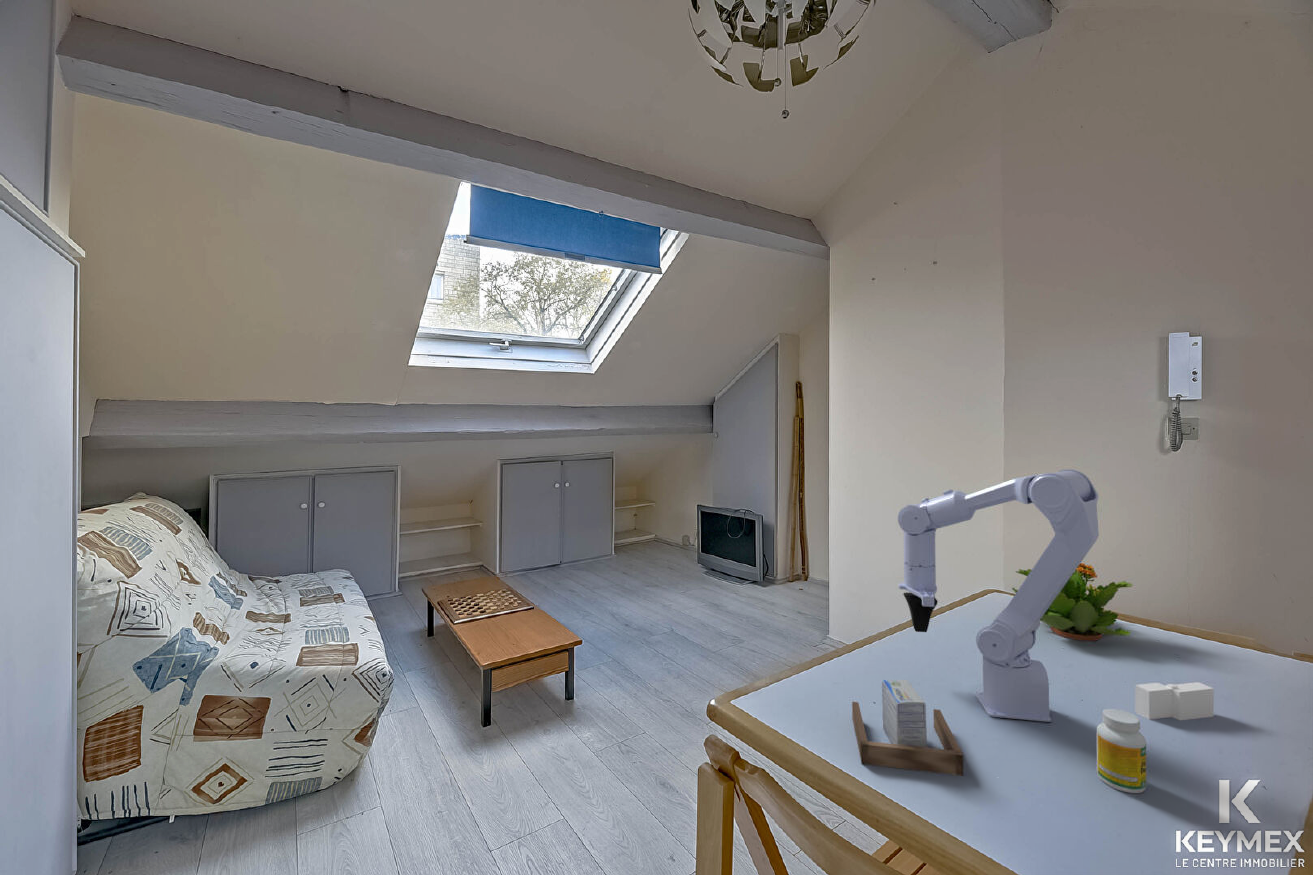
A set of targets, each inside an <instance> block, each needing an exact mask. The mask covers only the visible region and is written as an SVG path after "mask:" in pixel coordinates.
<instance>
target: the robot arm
mask: <svg viewBox="0 0 1313 875" xmlns="http://www.w3.org/2000/svg"><path fill="white" fill-rule="evenodd" d="M942 493H943V494H942V495H939V496H936V497H934V498H931V499H929V497H925V498H923V499H921V500H920V501H921V503H915V504H907V505H906V506H904V507H903V508H902V509H900V510H899V512H898V514H897V522H898V525H899V528H900V529H901V530H902V531H903V567H904V568H903V570H904V571H903V573H904V574H903V577H904V578H903V579H904V582H900V583H899V582H898V583H897V587H898V589H899V590H905V591H906V592H904V593H903V594H902V595H903V596H904V598H905V601H906V603H907V605H908V608H909V612H910V617H911V623H912V626H913V630H914V631H915V632H916V633H917V632H918V633H927V632H928V630H929V624H930V620H931V617H932V614H933V611H934V610H935V608H936V606H937V605H938V601H939V600H938V599H937V598H936V594H937V591H938V587H937V585H936V584H937V581H936V580H937V576H936V575H937V574H936V573H937V572H936V571H937V570H936V567H937V566H936V530H938V529H942V528H945V527H949V526H952V525H957V524H960V523H963V522H968V521H970V520H972V518H973V517H974V515H975V513H976V511H977V510H983V509H985V508H990V507H993V506H997V505H1001V504H1002V505H1003V504H1005V503H1009V502H1012V501H1017V502H1019V503H1022V504H1025V505H1030V504H1033V505H1034V506H1035V507H1036V508H1037V509H1038V510H1039V512H1041V513H1042V514H1043V516H1044V517H1045V518H1046V519H1047V520H1048V521H1049V524H1050V525H1051V527H1052V530H1053V532H1054V536H1053V537H1052V539H1051V541H1050V542H1049V544H1048V545H1047V547H1046V548H1045V549H1044V551H1043V552H1042V554H1041V556H1040V557H1039V559H1038V560H1037V561H1036V563H1035V564H1034V566H1033V567H1032V569H1031V572H1030V573H1029V575H1028V576H1026V577H1025V579H1024V581H1023V583H1022V584H1021V585H1020V586H1019V589H1017V590H1018V591H1017V593H1015V594H1014V596H1013V597H1012V598H1011V600H1010V602H1009V603H1008V605H1007V606H1006V607H1005V608H1004V609H1003V610H1002V611H1001V612H1000V613H999V614H997V616H996V617H995V619H993V621H992V622H991V623H990V624H989V625H986V626H984V627H982V628H981V629H979V631H978V632H977V634H976V637H975V638H976V639H975V641H976V646H977V649H978V650H979V652H980V654H982V692H975V697H976V698H977V700H978V701H979V703H980V704H981V706H982V707H983V709H984V710H985V712H986V714H987V715H988V716H989V717H992V718H995V717H996V718H1003V719H1005V718H1006V719H1016V720H1025V721H1037V722H1048V723H1050V722H1052V719H1051V717H1050V684H1049V677H1048V672H1047V669H1046V667H1045V666H1044V664H1043V663H1042V661H1040V660H1037V659H1031V656H1030V654H1029V650H1031V649H1032V648H1033V647H1034V645H1035V644H1036V640H1037V637H1036V636H1037V635H1036V634H1037V630H1038V628H1039V627H1040V626H1041V621H1040V619H1041V618H1042V616H1043V615H1044V613H1045V612H1046V611H1047V609H1048V608H1049V606H1050V605H1051V604H1052V602H1053V601H1054V599H1055V598H1056V597H1057V595H1058V594H1059V592H1060V591H1061V590H1062V588H1063V587H1064V585H1065V584H1066V583H1067V581H1068V580H1069V578H1070V577H1071V576H1072V574H1073V573H1074V571H1075V570H1076V569H1077V567H1078V566H1079V564H1080V563H1082V561H1084V559H1085V557H1086V556H1087V555H1088V553H1089V552H1090V551H1091V549H1092V547H1093V546H1095V543H1096V542H1097V540H1098V538H1099V532H1100V531H1099V522H1098V508H1097V507H1098V506H1097V505H1098V500H1099V494H1098V491H1097V490H1096V488H1095V486H1094V484H1093V483H1092V481H1091V480H1090V478H1089V477H1088V476H1087V475H1086V474H1085V473H1083V472H1081V471H1079V470H1076V469H1072V468H1071V469H1068V468H1067V469H1062V470H1059V471H1055V472H1045V473H1041V474H1034V475H1028V476H1022V477H1016V478H1012V479H1010V480H1007V481H1004V482H1001V483H997V484H996V485H993V486H989V487H987V488H986V487H985V488H984V489H981V490H978V491H975V492H972V493H970V494H968V493H966V492H964V491H961V490H955V491H954V490H953V489H947V490H944V491H943V492H942Z"/></svg>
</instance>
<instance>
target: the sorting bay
mask: <svg viewBox="0 0 1313 875" xmlns="http://www.w3.org/2000/svg"><path fill="white" fill-rule="evenodd" d="M851 702H852V703H851V706H852V707H851V709H852V711H851V712H852V717H851V718H852V723H853V727H854V734H855V737H856V743H857V748H858V752H859V758H860V761H861V762H860V763H861V764H862V765H868V766H869V765H871V766H879V767H886V768H887V767H888V768H894V769H904V770H910V771H911V770H912V771H921V772H928V773H937V774H944V775H945V774H947V775H953V776H954V775H955V776H962V777H964V776H965V775H964V754H963V751H962V750H961V747H960V746H959V744H958V742H957V740H956V738H955V736H954V735H953V733H952V730H951V729H950V726H949V725H948V723H947V721H946V719H945V717H944V715H943V713H942V710H941V709H937V708H935V709H933V728H934V730H935V733H936V735H937V738H939V741H940V743H941V745H942V748H943V749H940V748H934V747H927V748H925V747H916V746H907V745H898V744H892V743H888V742H878V741H871V740H870V741H869V740H868V738H867V733H866V729H865V725H864V721H863V716H862V712H861V708H860V707H861V706H860V704H859V702H858V701H851Z"/></svg>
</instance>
